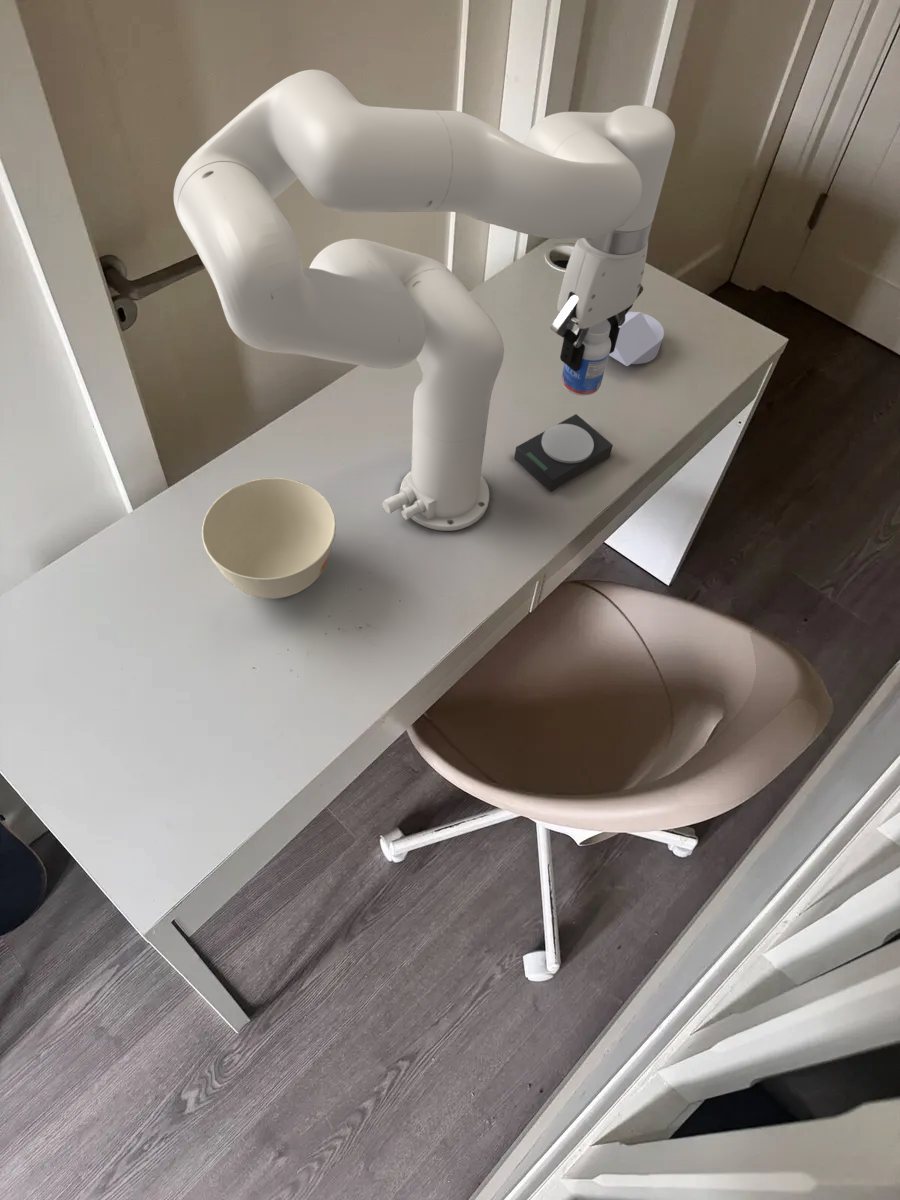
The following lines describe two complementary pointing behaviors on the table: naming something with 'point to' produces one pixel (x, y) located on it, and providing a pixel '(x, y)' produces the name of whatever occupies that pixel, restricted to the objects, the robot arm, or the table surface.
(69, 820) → the table surface
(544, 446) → the scale
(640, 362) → the wedge on round base
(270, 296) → the robot arm
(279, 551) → the bowl
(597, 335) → the pill bottle
